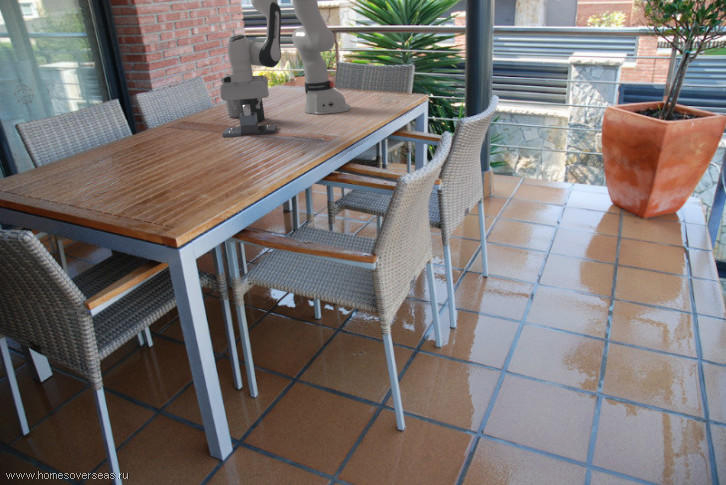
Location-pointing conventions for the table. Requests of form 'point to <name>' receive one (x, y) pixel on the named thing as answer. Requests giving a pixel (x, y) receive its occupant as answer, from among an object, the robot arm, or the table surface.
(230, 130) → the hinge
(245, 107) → the pin
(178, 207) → the table surface
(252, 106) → the bottle
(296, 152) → the table surface
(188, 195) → the table surface
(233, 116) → the can
